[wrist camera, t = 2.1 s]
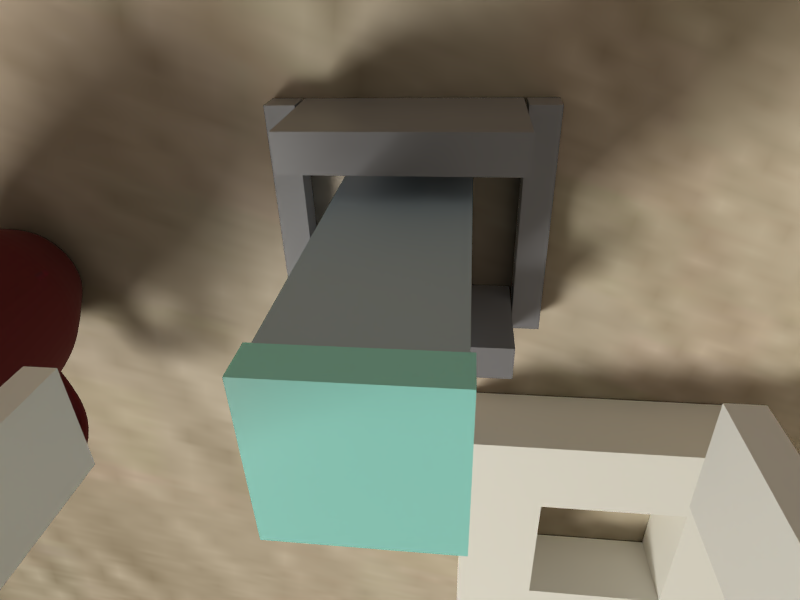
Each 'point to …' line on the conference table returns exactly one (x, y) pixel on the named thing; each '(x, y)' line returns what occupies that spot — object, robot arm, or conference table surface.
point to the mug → (38, 308)
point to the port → (586, 499)
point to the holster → (430, 157)
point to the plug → (367, 376)
